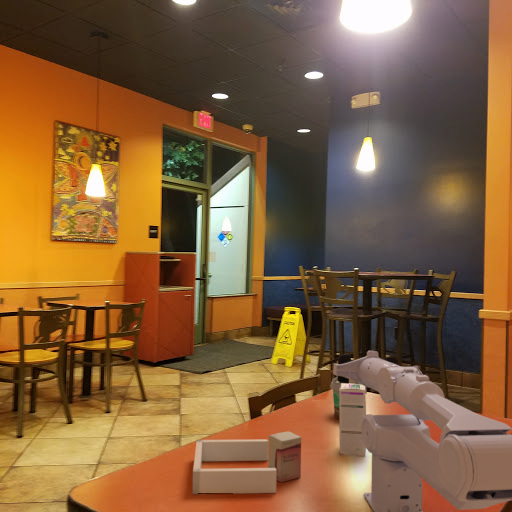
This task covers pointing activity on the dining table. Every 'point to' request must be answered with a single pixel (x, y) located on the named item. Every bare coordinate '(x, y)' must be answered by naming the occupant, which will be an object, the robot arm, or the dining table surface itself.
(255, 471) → the u-shaped bracket
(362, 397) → the syrup box
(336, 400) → the food container
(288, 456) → the small box
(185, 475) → the dining table surface
